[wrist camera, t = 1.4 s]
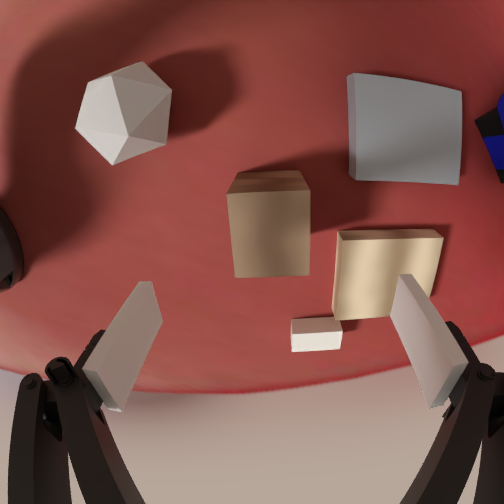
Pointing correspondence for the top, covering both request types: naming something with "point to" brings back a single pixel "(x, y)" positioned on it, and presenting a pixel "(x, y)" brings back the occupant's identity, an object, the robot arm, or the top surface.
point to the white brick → (315, 334)
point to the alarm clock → (494, 135)
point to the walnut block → (270, 224)
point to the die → (125, 113)
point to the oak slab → (380, 268)
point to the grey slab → (403, 130)
